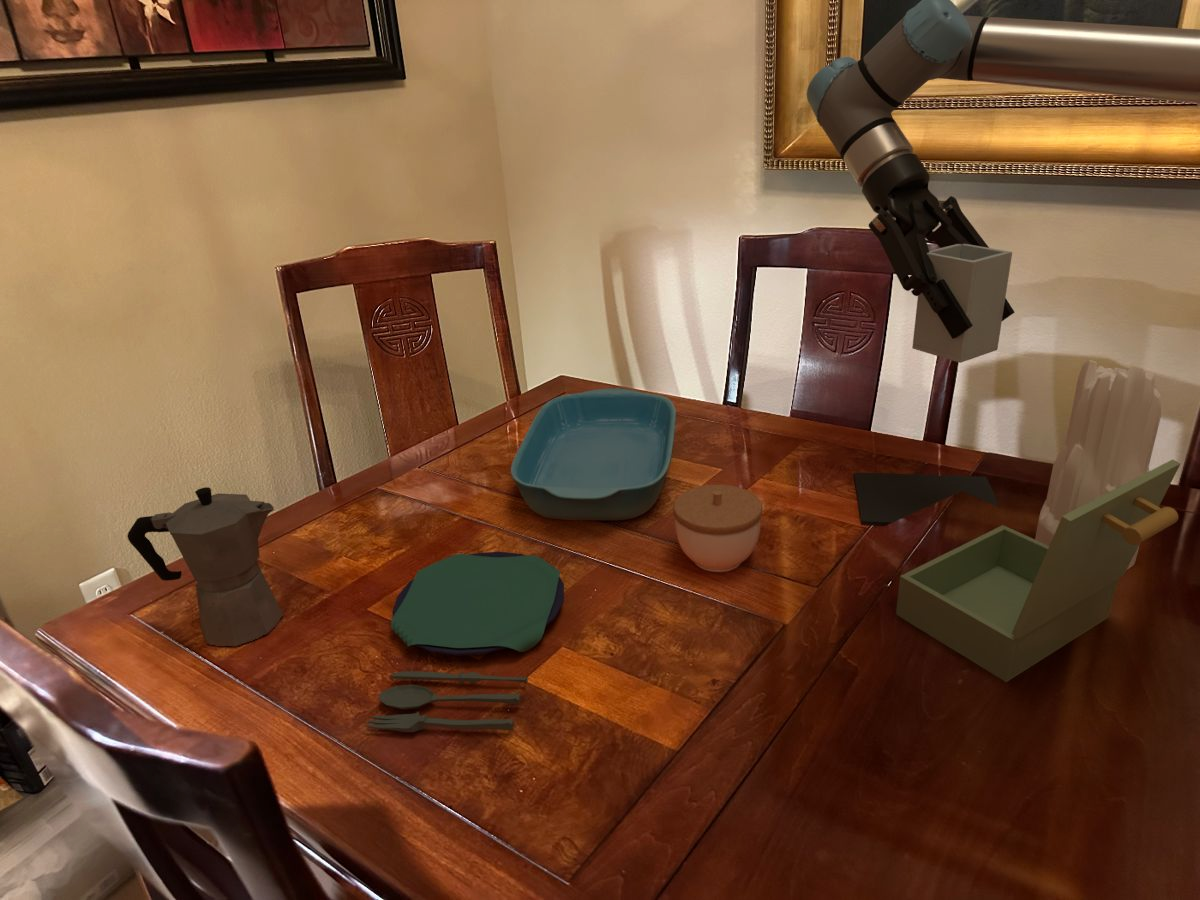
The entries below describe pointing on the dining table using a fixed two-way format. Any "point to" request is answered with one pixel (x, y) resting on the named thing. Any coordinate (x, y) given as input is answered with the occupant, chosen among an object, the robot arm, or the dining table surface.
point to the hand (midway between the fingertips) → (983, 325)
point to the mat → (911, 493)
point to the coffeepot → (218, 563)
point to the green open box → (992, 603)
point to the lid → (1097, 545)
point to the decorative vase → (1102, 441)
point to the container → (965, 301)
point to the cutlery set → (469, 626)
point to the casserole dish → (596, 455)
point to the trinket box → (717, 525)
